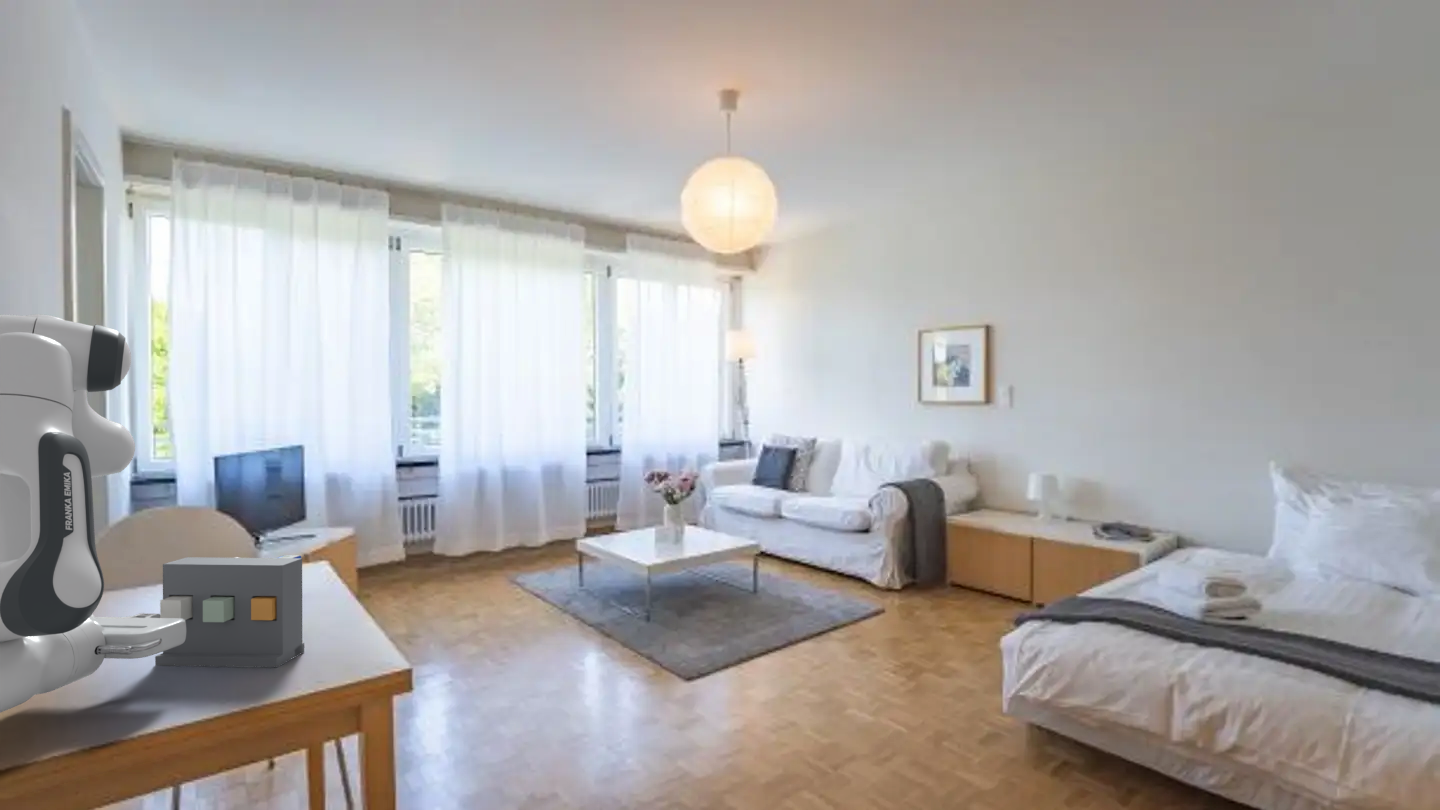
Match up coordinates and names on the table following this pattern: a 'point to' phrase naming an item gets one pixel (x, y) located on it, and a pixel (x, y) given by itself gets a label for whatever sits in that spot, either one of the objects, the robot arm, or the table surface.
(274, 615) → the button orange
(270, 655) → the button panel
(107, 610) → the table surface
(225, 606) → the button sage
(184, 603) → the button offwhite
